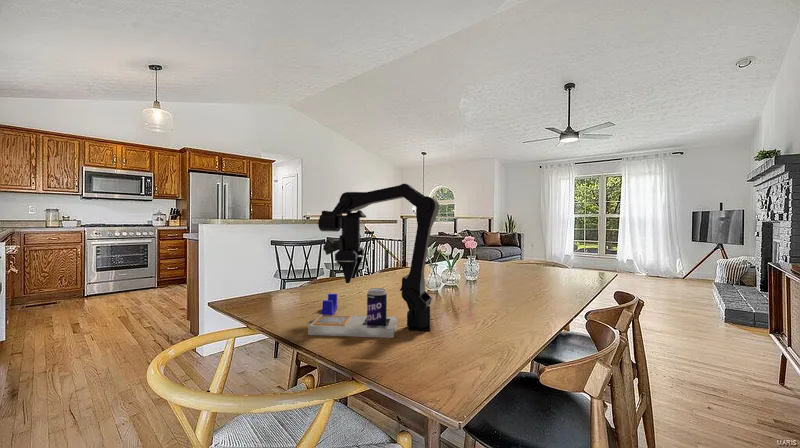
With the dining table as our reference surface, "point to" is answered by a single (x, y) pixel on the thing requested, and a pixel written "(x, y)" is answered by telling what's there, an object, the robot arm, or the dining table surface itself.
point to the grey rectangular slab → (351, 326)
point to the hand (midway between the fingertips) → (350, 280)
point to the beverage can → (376, 307)
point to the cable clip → (329, 305)
